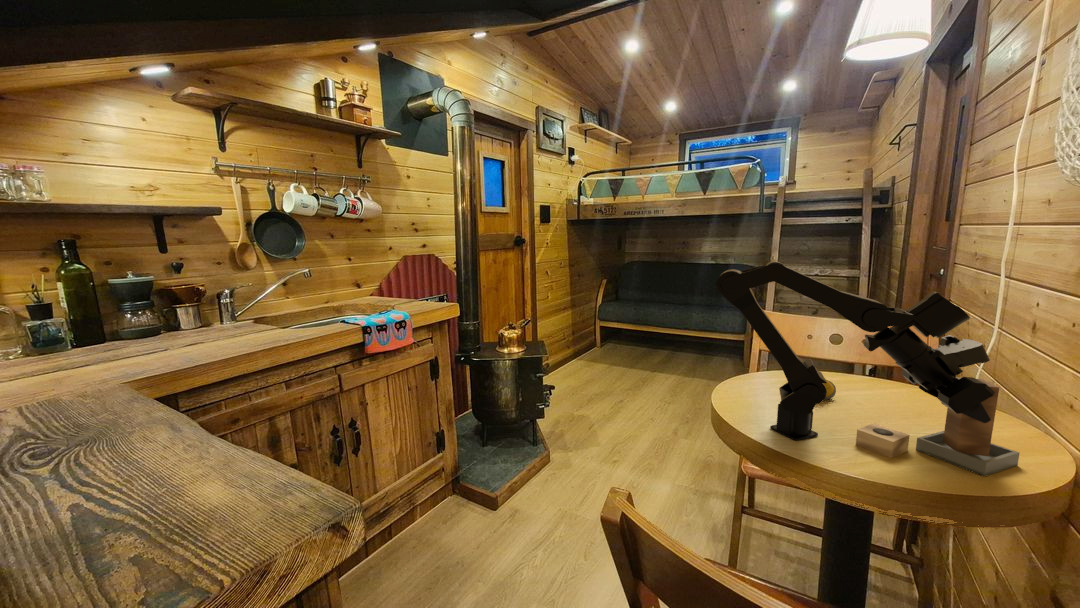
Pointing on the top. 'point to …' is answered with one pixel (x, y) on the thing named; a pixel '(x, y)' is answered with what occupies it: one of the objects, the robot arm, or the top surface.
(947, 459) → the tray
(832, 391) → the grey yellow round piece
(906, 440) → the short block
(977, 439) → the tall block
